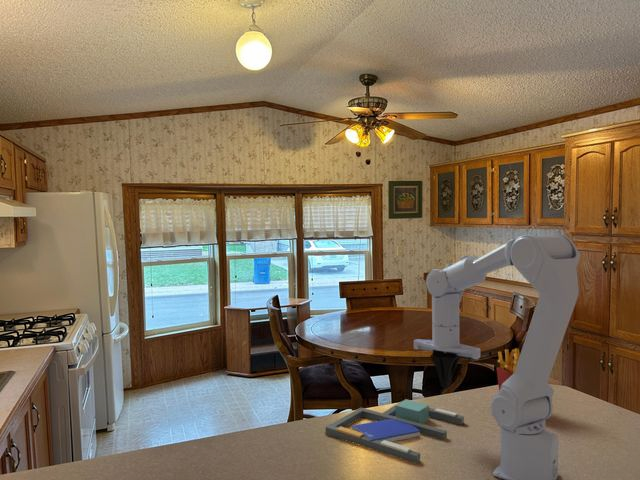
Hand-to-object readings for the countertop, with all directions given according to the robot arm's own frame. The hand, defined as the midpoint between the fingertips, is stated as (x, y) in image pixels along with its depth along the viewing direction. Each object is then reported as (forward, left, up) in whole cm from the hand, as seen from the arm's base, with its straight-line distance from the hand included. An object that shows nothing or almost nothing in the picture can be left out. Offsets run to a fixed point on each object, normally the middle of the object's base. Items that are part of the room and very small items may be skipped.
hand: (446, 386), depth 105 cm
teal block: (+9, -2, -10) cm, 14 cm away
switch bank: (+7, -2, -10) cm, 13 cm away
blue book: (+10, +9, -10) cm, 17 cm away
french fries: (-8, -24, -11) cm, 27 cm away
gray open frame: (+10, +9, -10) cm, 17 cm away
